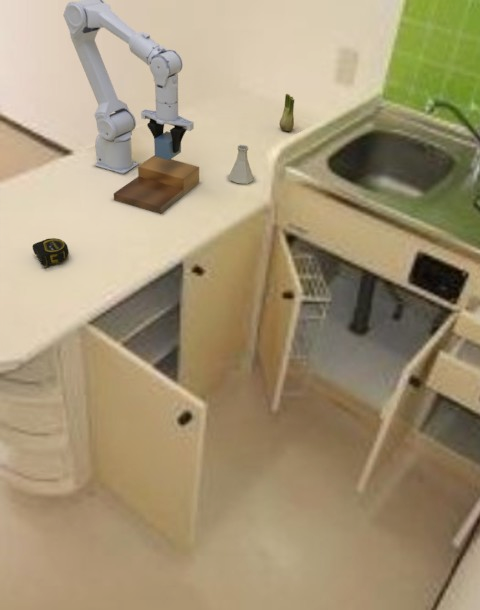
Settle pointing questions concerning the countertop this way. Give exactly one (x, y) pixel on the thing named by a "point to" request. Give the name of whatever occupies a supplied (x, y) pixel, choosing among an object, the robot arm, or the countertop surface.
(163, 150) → the blue box
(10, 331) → the countertop surface
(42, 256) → the tape measure
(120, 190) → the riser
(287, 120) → the fennel bulb
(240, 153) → the flask
